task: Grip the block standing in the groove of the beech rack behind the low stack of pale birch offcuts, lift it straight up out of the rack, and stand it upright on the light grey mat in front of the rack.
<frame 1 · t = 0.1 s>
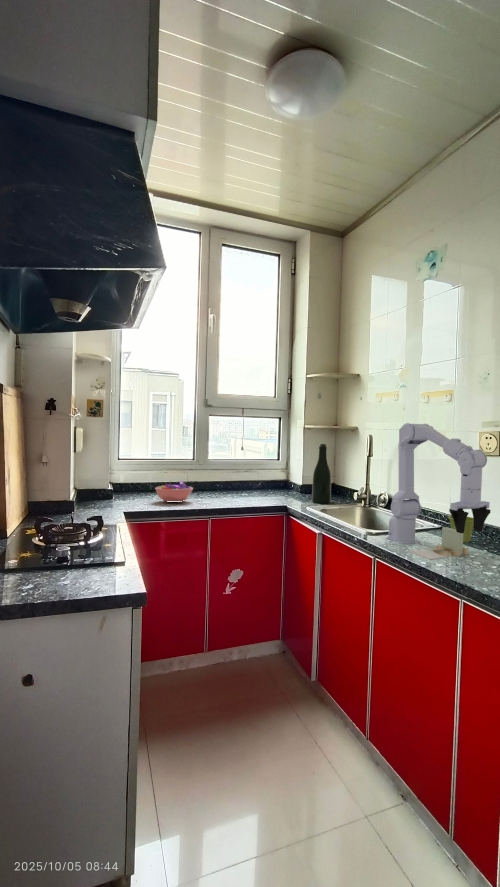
hand: (468, 531, 133), 10 cm above the worktop, tool pointing down, fingers open, 7 cm apart
plant pot: (461, 541, 161), on the worktop
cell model: (174, 502, 227), on the worktop
offcut upper: (442, 553, 143), resting on offcut lower
mat: (426, 555, 141), on the worktop
rack: (451, 552, 145), on the worktop
offcut lower: (441, 556, 143), on the worktop, touching offcut upper
beer bottle: (321, 502, 239), on the worktop
block: (451, 552, 145), on the worktop
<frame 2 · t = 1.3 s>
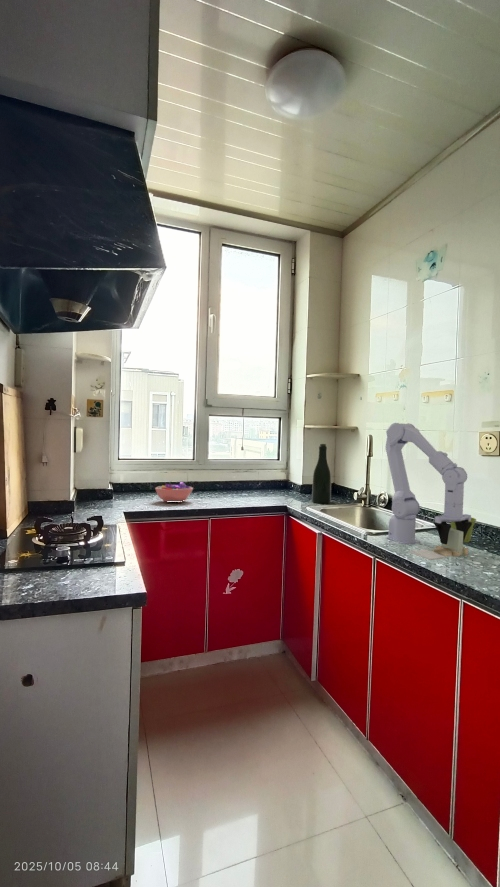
hand: (452, 542, 145), 3 cm above the worktop, tool pointing down, fingers open, 7 cm apart
offcut upper: (442, 552, 143), resting on offcut lower
offcut lower: (441, 556, 143), on the worktop
everything else where it was.
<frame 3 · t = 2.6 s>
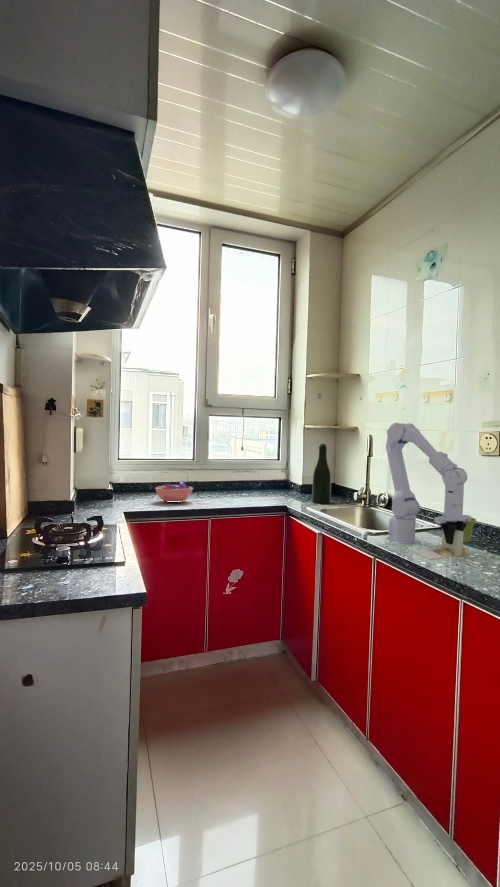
hand: (452, 543, 145), 3 cm above the worktop, tool pointing down, fingers closed on block, 2 cm apart
offcut upper: (441, 553, 143), resting on offcut lower
offcut lower: (441, 556, 143), on the worktop, touching offcut upper
block: (451, 552, 145), on the worktop, touching gripper
everything else where it was.
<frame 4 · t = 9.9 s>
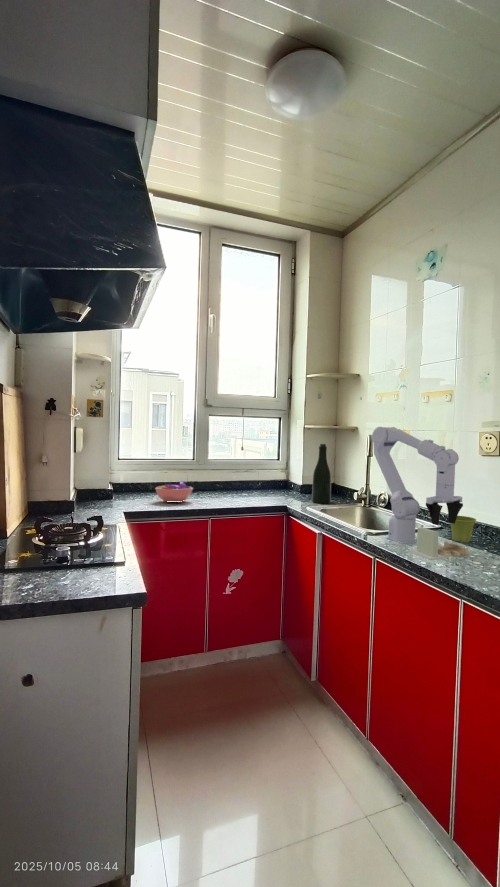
hand: (443, 523, 147), 9 cm above the worktop, tool pointing down, fingers open, 7 cm apart
block: (426, 553, 141), point 1 cm above the worktop, touching mat
everything else where it was.
at the end: block 0.0 cm off-centre on the mat, point 0.6 cm above the mat's base; block tilted 0°; offcut upper moved 0.9 cm from its start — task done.
